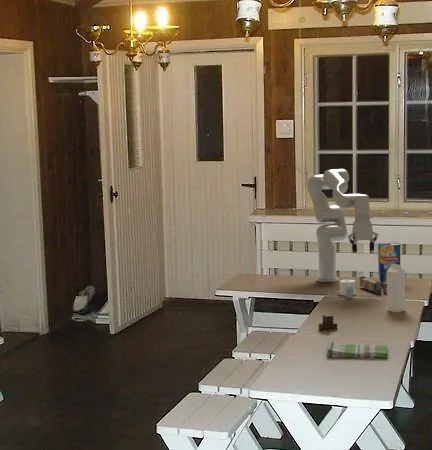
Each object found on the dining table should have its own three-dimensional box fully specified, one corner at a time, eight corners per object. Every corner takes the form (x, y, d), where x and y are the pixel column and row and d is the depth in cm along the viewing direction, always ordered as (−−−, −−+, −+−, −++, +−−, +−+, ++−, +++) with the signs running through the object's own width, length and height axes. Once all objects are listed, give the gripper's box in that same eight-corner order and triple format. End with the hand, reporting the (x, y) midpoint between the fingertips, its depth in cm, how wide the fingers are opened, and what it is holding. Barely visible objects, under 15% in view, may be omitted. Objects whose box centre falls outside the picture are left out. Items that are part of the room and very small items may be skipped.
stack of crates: (320, 337, 352) (320, 321, 351) (307, 329, 366) (306, 313, 365) (353, 334, 356) (353, 318, 355) (338, 326, 370) (338, 311, 369)
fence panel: (382, 292, 436) (382, 280, 435) (399, 291, 439) (399, 279, 438) (385, 293, 433) (385, 281, 433) (401, 292, 436) (401, 280, 435)
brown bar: (359, 286, 451) (359, 276, 451) (364, 285, 452) (364, 276, 452) (374, 291, 435) (374, 281, 434) (379, 291, 436) (379, 281, 435)
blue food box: (400, 284, 456) (400, 244, 454) (380, 285, 457) (379, 245, 454) (398, 282, 463) (398, 242, 460) (378, 282, 464) (378, 243, 461)
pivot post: (375, 293, 435) (375, 281, 434) (379, 293, 435) (379, 280, 435) (377, 294, 432) (377, 282, 432) (382, 294, 433) (381, 281, 432)
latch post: (346, 297, 427) (346, 286, 426) (350, 297, 427) (350, 285, 427) (348, 298, 424) (348, 286, 424) (352, 298, 425) (352, 286, 424)
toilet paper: (349, 291, 444) (349, 278, 443) (358, 295, 433) (358, 281, 432) (334, 292, 442) (334, 279, 441) (343, 296, 431) (343, 282, 430)
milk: (396, 312, 390) (396, 265, 388) (386, 310, 395) (386, 264, 393) (405, 310, 394) (405, 264, 391) (395, 308, 399) (395, 262, 396)
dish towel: (328, 347, 335) (328, 339, 335) (387, 348, 331) (387, 339, 331) (326, 359, 318) (326, 350, 318) (388, 360, 314) (388, 351, 314)
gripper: (374, 216, 443) (375, 249, 445) (344, 219, 439) (345, 251, 440) (380, 217, 436) (381, 250, 438) (350, 219, 431) (351, 253, 433)
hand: (363, 251), depth 439 cm, fingers open, 9 cm apart
